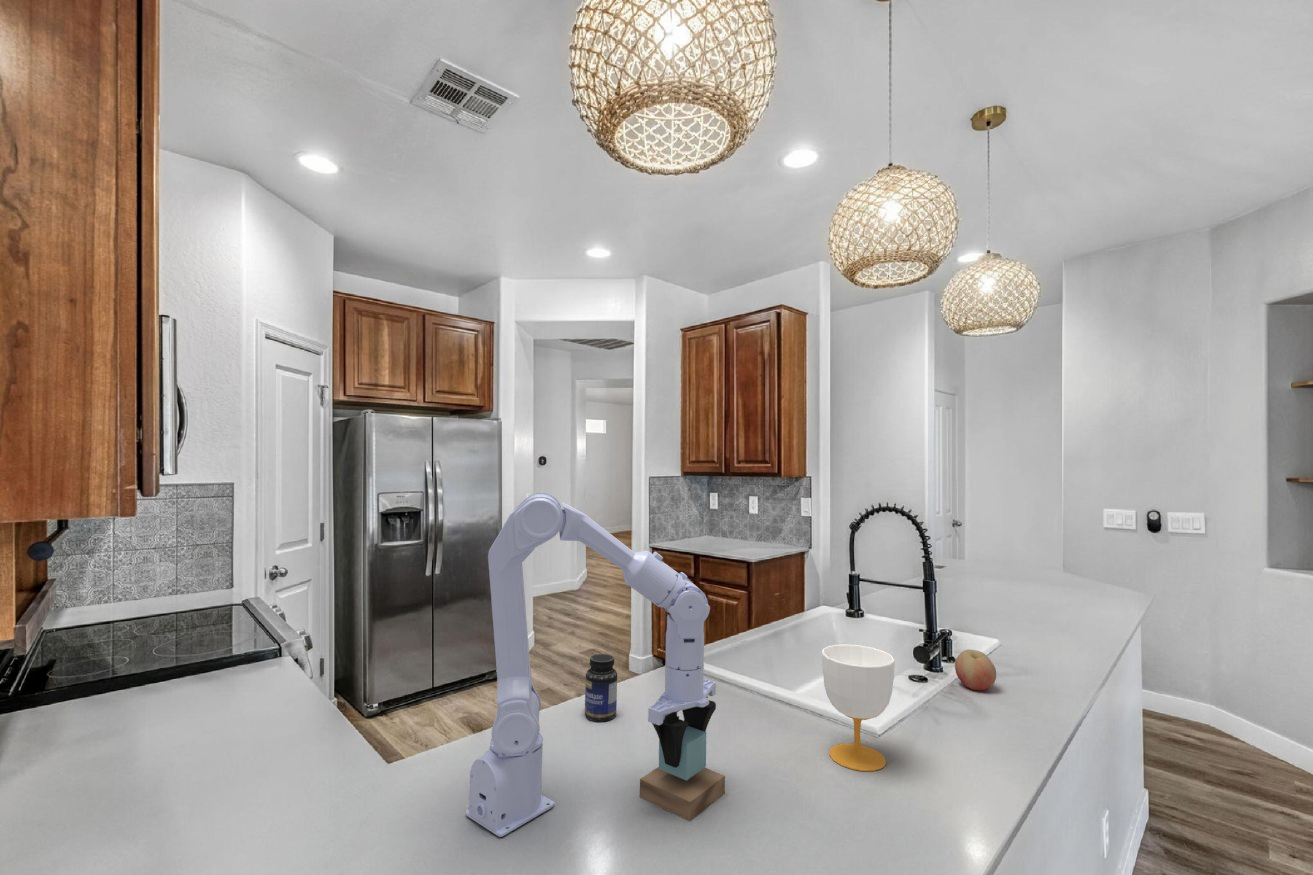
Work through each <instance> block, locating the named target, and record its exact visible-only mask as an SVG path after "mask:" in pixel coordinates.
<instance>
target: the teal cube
mask: <svg viewBox="0 0 1313 875" xmlns="http://www.w3.org/2000/svg"><path fill="white" fill-rule="evenodd" d="M658 741H659V742H658V767H659V769H660V770H663V771H665V772H667V773H670V774H672V775H675V776H677V777H679V778H682V779H684V780H686V781H687V780H688V779H689V778H691V777H692V776H694V775H695V774H696V773H698V772H699V771H701V770H702V769H703V768H707V731H706V732H704V731H701V730H698V729H695V728H693V727H690V726H687V728H686V730H685V733H684V736H683V741H682V748H681V758H680V763H679V766H678V767H677V768H674V767H672V766H670V765H667V764H665V760H664V756H663V751H662V747H661V743H660V740H659V739H658Z"/></svg>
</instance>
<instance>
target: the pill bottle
mask: <svg viewBox="0 0 1313 875" xmlns="http://www.w3.org/2000/svg"><path fill="white" fill-rule="evenodd" d="M614 665H615V657H614V656H613V655H611V654H608V653H598V654H593V655H592V656H590V658H589V667H590V668H589V669H588V670H586V673H585V686H584V687H585V689H584V690H585V693H584V695H585V696H584V716H585V718H587V720H590V721H592V722H593V721H594V722H608V721H610V720H612V719H614V718H615V717H616V716H617V701H618V672H617V670H616V669H615V668H614Z"/></svg>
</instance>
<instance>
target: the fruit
mask: <svg viewBox="0 0 1313 875" xmlns="http://www.w3.org/2000/svg"><path fill="white" fill-rule="evenodd" d="M954 670H955V673H956V676H957V679H958V680H959V681H960V682H961V684H963V685H964V686H965V687H966V688H969V689H970V690H972V691H973V690H974V691H985V690H988V689H991V688H992V686H993V685H994V684H995V682H996V681H997V669H996V667H995V665H994V663H993V661H992V660H991V659H990V658H989V656H988V655H987V654H986V653H984V652H982V651H979V650H976V649H965V650H963V651H961V652H960V653H959V654H958V655H957V656H956V658H955V661H954Z"/></svg>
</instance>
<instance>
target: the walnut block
mask: <svg viewBox="0 0 1313 875" xmlns="http://www.w3.org/2000/svg"><path fill="white" fill-rule="evenodd" d="M725 793H726V775H724V774H723V773H720V772H716V771H714V770H712V769H710V768H708V767H705V768H703V769H702V770H701V771H699V772H698V773H696V774H695V775H694V776H692V777H691V778H689V779H688V780H687V781H686V780H684V779H682V778H679V777H677V776H675V775H672V774H670V773H667V772H665V771H663V770H660V769H659V766H658V767H656V768H655V769H653V770H652V771H650V772H648V773H647V774H645V775H644V776H642V777H640V778H639V794H638V795H639V798H640V799H643V800H644V801H647V802H649V803H651V804H653V805H655V806H657V807H658V808H661V809H663V810H665V811H667V812H669V813H671V814H674V815H675V816H677V817H680V818H682V819H684V820H686V821H688V822H691V821H693V820H694V819H695V818H696V817H697V816H698V815H700V814H701V813H702V812H703V811H705V810H707V808H708V807H709V806H711V805H713V804H714V803H715V802H716V801H717V800H718V799H720V798H721V797H722V796H724V794H725Z"/></svg>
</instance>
